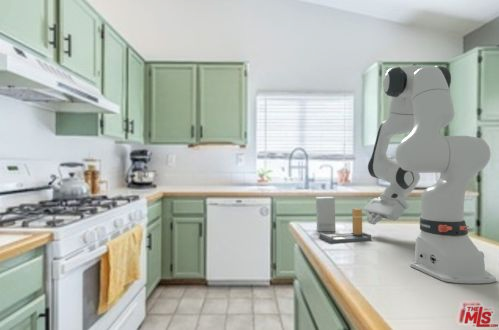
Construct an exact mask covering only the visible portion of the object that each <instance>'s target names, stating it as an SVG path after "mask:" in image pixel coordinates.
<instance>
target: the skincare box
mask: <svg viewBox="0 0 499 330" xmlns="http://www.w3.org/2000/svg"><path fill="white" fill-rule="evenodd" d="M335 200H336V199H335V196H316V197H315V206H316V207H315V210H316V213H315V214H316V216H315V217H316V218H315V219H316V230H317V232H319V233H322V232H336V231H337V230H336V208H335V207H336V206H335V205H336V203H335V202H336V201H335Z"/></svg>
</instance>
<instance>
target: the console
mask: <svg viewBox="0 0 499 330" xmlns="http://www.w3.org/2000/svg"><path fill="white" fill-rule="evenodd" d="M351 233H352V232H349V233H348V232H347V233H333V234H332V233H330V234H326V233H324V232H319V239H320V240H323V241H325V242H327V243H329V244H337V243H338V244H339V243H352V242H354V243H355V242H364V241H365V242H366V241H367V242H368V241H372V234H369V233H367V232H364V231H362V233H363V234H364V235H359V236H355V235H353V234H351Z"/></svg>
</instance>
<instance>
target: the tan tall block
mask: <svg viewBox="0 0 499 330" xmlns="http://www.w3.org/2000/svg"><path fill="white" fill-rule="evenodd" d="M351 210H352V211H351V212H352V217H351V218H352V232H350V233H351V234H353V235H355V236H359V235H364V234H363V233H362V232H363V209H362V208H352V209H351Z"/></svg>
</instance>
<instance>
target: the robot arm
mask: <svg viewBox="0 0 499 330" xmlns="http://www.w3.org/2000/svg"><path fill="white" fill-rule="evenodd" d="M451 84H452V73H451V72H450V69H448V68H447V67H445V66H441V65H435V66H433V65H407V66H405V65H404V66H401V67H400V66H394V67H391V68H388V70H386V71H385V73H384V77H383V80H382V87H383V91H384V93H385V94H386V95H387V97H391V98H390V102H389V108H388V109H389V110H388V114H387V115H388V116H386V120H384V121H383V122H381V124H380V125H379V128H378V132H377V135H376V139H375V142H374V146H373V149H372V153H371V156H370V159H369V161H368V165H367V170H368V173H369V175H370V176H371V177H373V178H376V179H379V180H382V181H384V182H387V183H389V185H388V186H386V188H385V189H384V190H383V191H382V193H380V195H379V196H377V197H376V198H372V199H371V200H369V201H368V203H366V204H365V206H364V207H363V209H362V211H364V213H366V215H369V216H370V218H369V219H368V223H369V224H370V225H373V226H375V225H376V224H377V223H378V222H379V221H382V219H385V220H389V221H393V222H394V221H397V220H398V219H400V218H401V216H402V215H403V214H404V213H405V210H407V209H408V208H409V206H410V205H409V204H408V203H407V202H406V198H407V196H408V195H410V194H411V193H412V192H413V191H414V189H415V188H416V187H417V184H418V183H419V182H420V178H421V175H420V174H421V173H422V174H424V173H426V174H428V173H429V174H430V173H432V174H433V173H437V174H438V173H439V174H440V177H439V178H438V181H437V182H435V183H434V184H432V185H429V186H427V187H426V188H425V189H424V190H423V191H422V193H421V195H420V199H421V201H420V202H421V207H420V208H421V211H420V212H421V216H420V219H419V230H420V233H419V235H418V236H417V237H416V238H415V248H414V261H411V262H410V267H411V268H413V269H416V270H417V271H420V272H423V273H425V274H426V275H430V276H431V277H433V278H436V279H438V280H441V281H443V282H447V283H454V284H472V285H474V284H491V283H495V282H497V277H496V276H495V275H494V274H491V273H490V272H489V271H487V270H486V265H485V264H486V262H485V253H484V252H483V251H482V250H481V251H480V250H479V249H478V248H477V246H476V245H475V243H474V242H473V241H472V239H471V238H470V237H469V235H468V234H469V230H470V229H469V225H467V223H466V220H465V218H464V215H465V214H464V213H465V212H464V211H465V210H464V208H465V207H464V206H465V196H466V191H467V189H468V186H469V184H470V183H471V181H472V179H473V178H474V177H475V176H476V174H478V173H479V172H480V171H482V170H483V169H485V167H487V165H488V164H489V162H490V159H491V148H490V146H489V143H487V141H486V140H485V139H483V138H481V137H476V136H469V135H440V132H439V130H442V129H444V128H446V127H447V126H448V125H450V124H451V123H452V122H453V119H454V117H455V110H454V109H455V108H454V105H453V100H452V96H451V92H450V87H451ZM409 132H410V133H409ZM407 133H409V134H408V135H407V136H406V137H404V139H402V140H401V141H400V142H399V144H398V145H397V147H396V150H395V159H393V158H390V157H388V156H387V152H388V148H389V145H390V141H391V139H392V137H393V136H398V135H403V134H407Z"/></svg>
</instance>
